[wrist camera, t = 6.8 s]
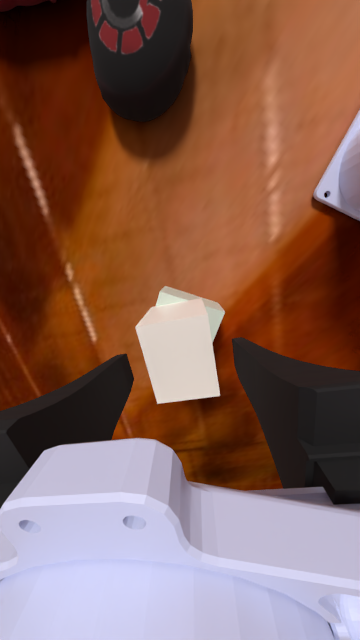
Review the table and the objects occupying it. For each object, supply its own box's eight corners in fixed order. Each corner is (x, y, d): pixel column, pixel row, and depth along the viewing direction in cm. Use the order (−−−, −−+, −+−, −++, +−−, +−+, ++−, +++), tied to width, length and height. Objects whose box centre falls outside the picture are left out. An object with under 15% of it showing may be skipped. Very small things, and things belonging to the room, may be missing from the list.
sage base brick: (217, 302, 19) (225, 312, 15) (199, 348, 21) (202, 367, 17) (165, 285, 19) (159, 291, 15) (151, 334, 21) (143, 350, 17)
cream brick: (201, 298, 15) (207, 314, 10) (211, 358, 17) (220, 395, 12) (151, 307, 16) (135, 326, 11) (165, 365, 17) (157, 403, 13)
